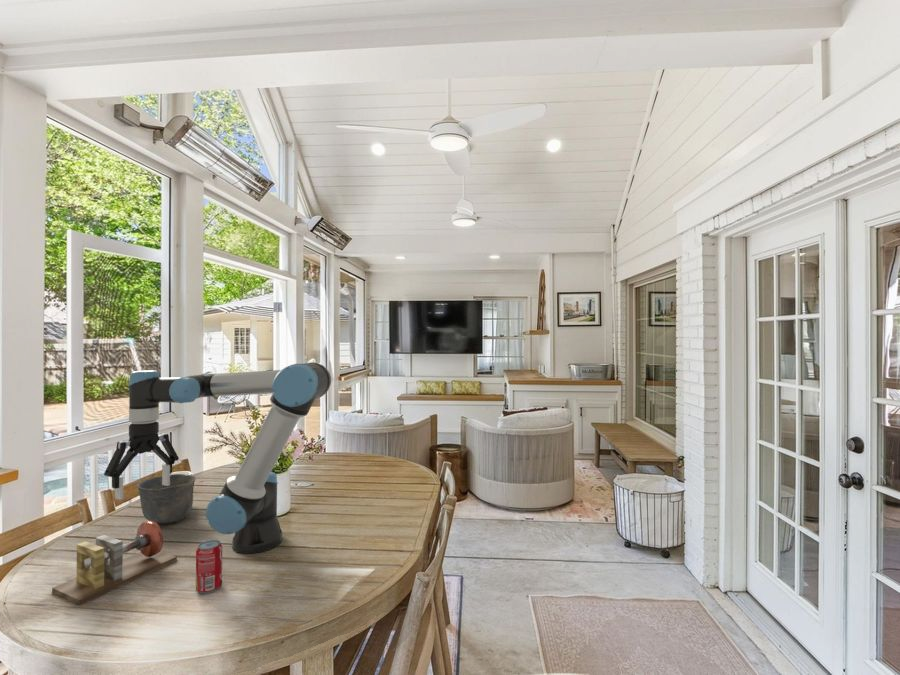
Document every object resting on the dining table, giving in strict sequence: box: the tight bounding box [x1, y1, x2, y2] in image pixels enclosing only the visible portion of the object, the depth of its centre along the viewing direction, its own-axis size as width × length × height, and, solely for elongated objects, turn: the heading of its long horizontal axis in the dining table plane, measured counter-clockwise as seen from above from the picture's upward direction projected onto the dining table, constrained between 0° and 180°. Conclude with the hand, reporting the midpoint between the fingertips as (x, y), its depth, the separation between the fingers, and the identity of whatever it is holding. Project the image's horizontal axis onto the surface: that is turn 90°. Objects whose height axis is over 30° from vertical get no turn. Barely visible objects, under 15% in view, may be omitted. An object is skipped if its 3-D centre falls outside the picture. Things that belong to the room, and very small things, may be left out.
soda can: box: [195, 539, 223, 595], centre depth 120 cm, size 6×6×12 cm
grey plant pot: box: [136, 474, 196, 524], centre depth 164 cm, size 18×18×15 cm
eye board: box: [51, 534, 178, 606], centre depth 126 cm, size 13×25×11 cm, turn 155°
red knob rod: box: [84, 520, 164, 568], centre depth 127 cm, size 10×17×10 cm, turn 155°
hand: (143, 491), depth 136 cm, fingers open, 13 cm apart
